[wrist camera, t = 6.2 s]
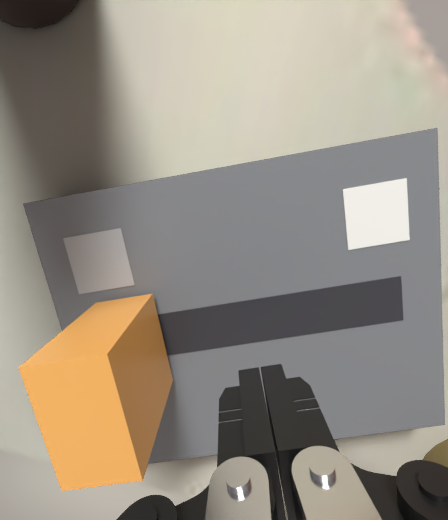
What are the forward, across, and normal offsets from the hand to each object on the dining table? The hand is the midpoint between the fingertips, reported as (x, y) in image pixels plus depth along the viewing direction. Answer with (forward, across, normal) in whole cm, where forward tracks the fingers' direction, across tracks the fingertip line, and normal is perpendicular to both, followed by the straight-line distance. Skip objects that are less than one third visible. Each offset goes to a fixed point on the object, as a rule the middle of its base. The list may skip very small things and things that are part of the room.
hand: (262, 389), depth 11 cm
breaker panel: (+9, 0, 0) cm, 9 cm away
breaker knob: (+6, +6, 0) cm, 8 cm away
